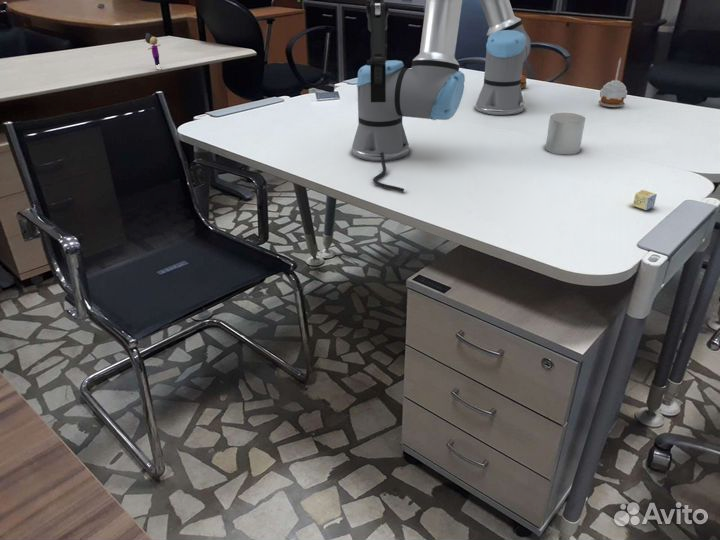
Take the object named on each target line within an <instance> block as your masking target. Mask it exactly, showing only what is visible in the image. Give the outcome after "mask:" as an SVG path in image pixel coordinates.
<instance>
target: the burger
mask: <svg viewBox="0 0 720 540" xmlns="http://www.w3.org/2000/svg"><path fill="white" fill-rule="evenodd" d="M520 87H521V89H524V88H526V87H527V77H526V76H525V75H524V74H522V76H521V84H520Z"/></svg>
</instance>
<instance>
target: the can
mask: <svg viewBox="0 0 720 540" xmlns="http://www.w3.org/2000/svg"><path fill="white" fill-rule="evenodd" d="M585 123H586V117H585V116H583V115H581V114H578V113H575V112H574V113H573V112H557V113H552V114H550V115H549V122H548V127H547V135H546V141H545V147H544V148H545V150H546V151H547V152H549V153H552V154H555V155H563V156H566V155H567V156H568V155H576V154H578V153H580V150H581V144H582V139H583V133H584V130H585Z"/></svg>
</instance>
